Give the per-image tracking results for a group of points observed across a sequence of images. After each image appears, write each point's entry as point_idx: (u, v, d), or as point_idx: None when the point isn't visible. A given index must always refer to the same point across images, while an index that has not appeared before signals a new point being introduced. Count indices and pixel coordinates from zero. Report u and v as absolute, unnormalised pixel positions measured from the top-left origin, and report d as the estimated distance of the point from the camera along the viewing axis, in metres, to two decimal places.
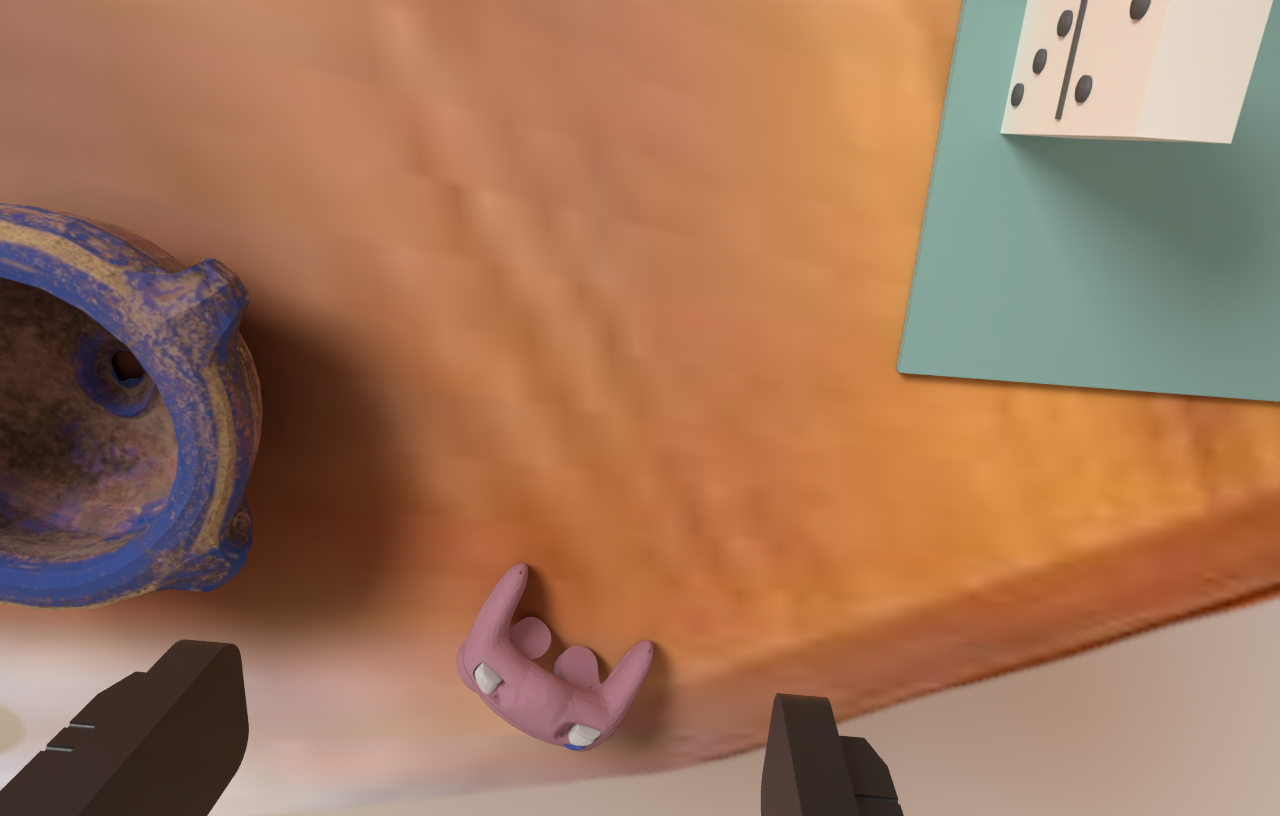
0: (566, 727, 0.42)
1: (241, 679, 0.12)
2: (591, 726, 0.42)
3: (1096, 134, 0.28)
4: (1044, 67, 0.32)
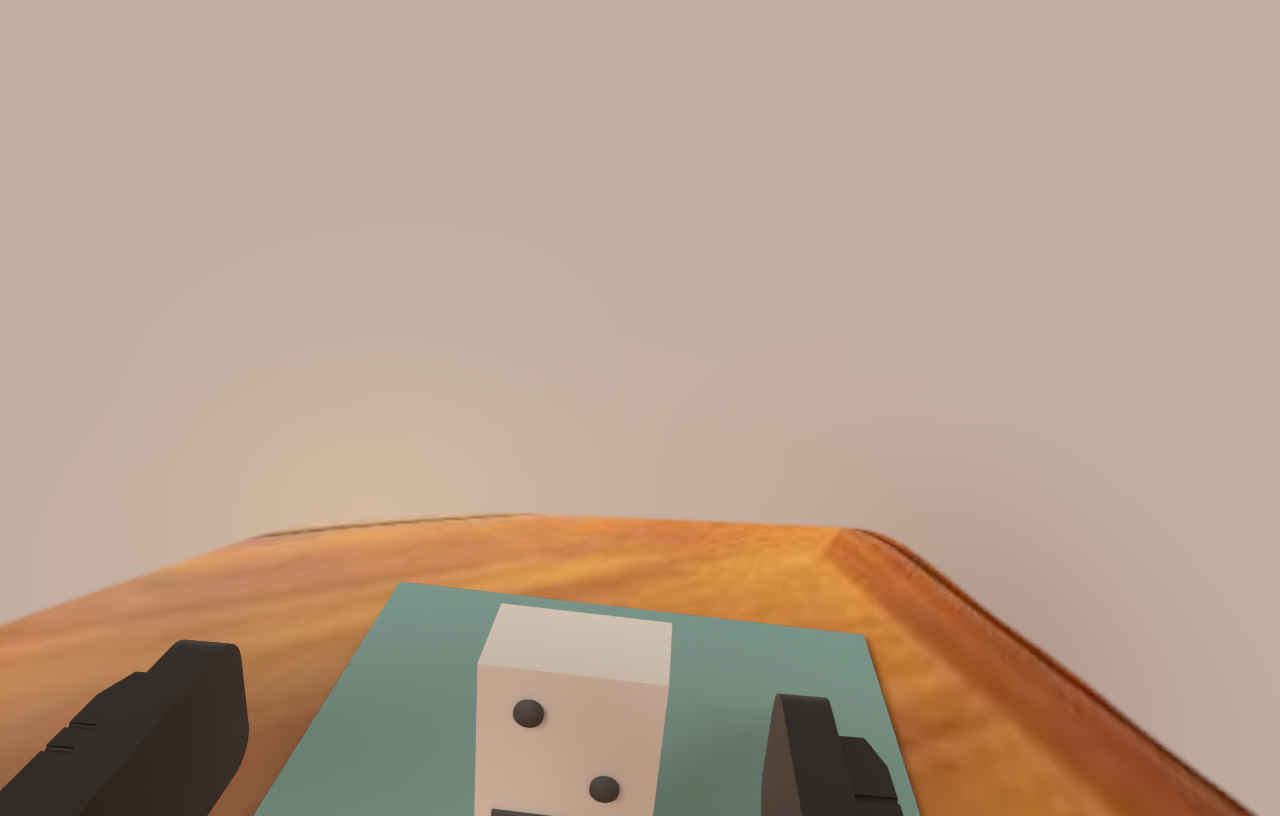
0: None
1: (241, 679, 0.12)
2: None
3: (659, 753, 0.24)
4: None
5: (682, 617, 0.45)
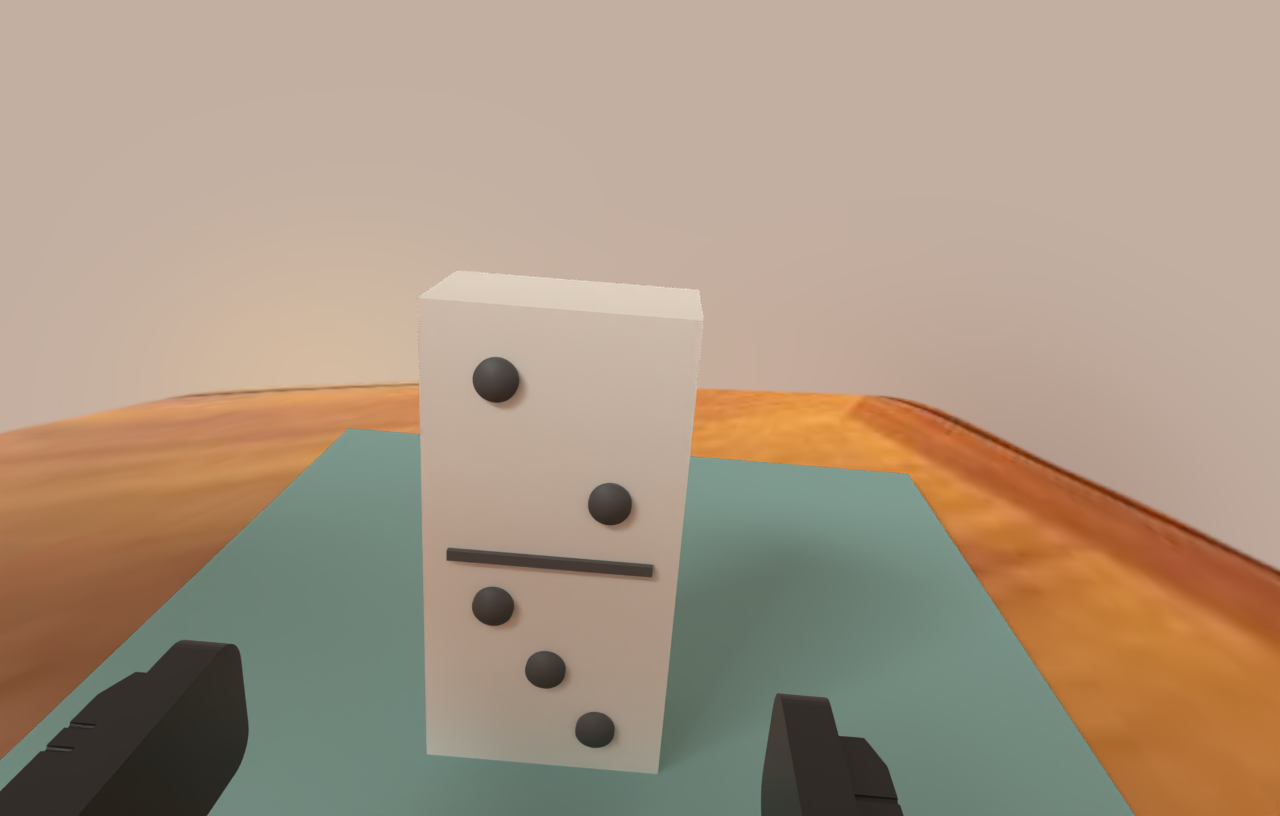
0: None
1: (241, 679, 0.12)
2: None
3: (689, 438, 0.16)
4: (556, 657, 0.18)
5: (691, 459, 0.37)
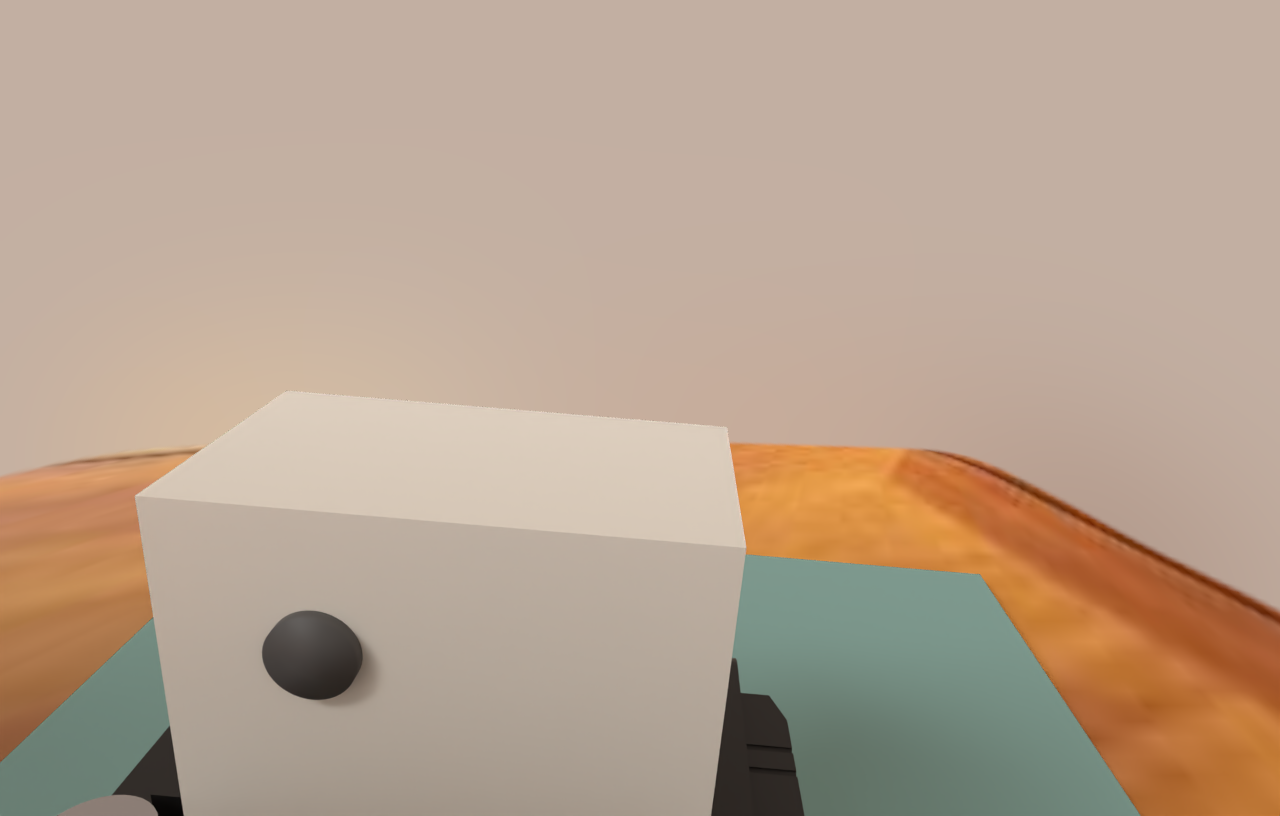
0: None
1: None
2: None
3: (713, 764, 0.08)
4: None
5: None
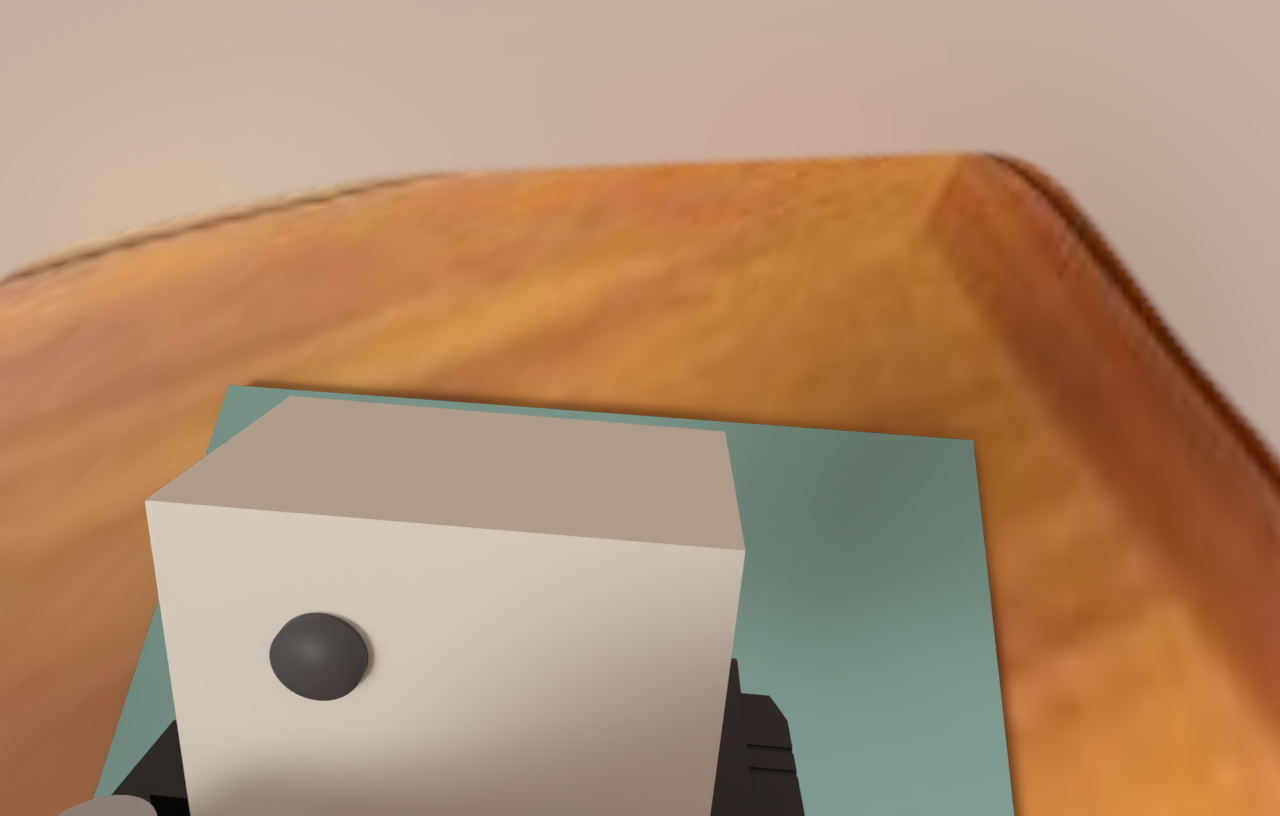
0: None
1: None
2: None
3: (713, 763, 0.08)
4: None
5: (682, 427, 0.28)
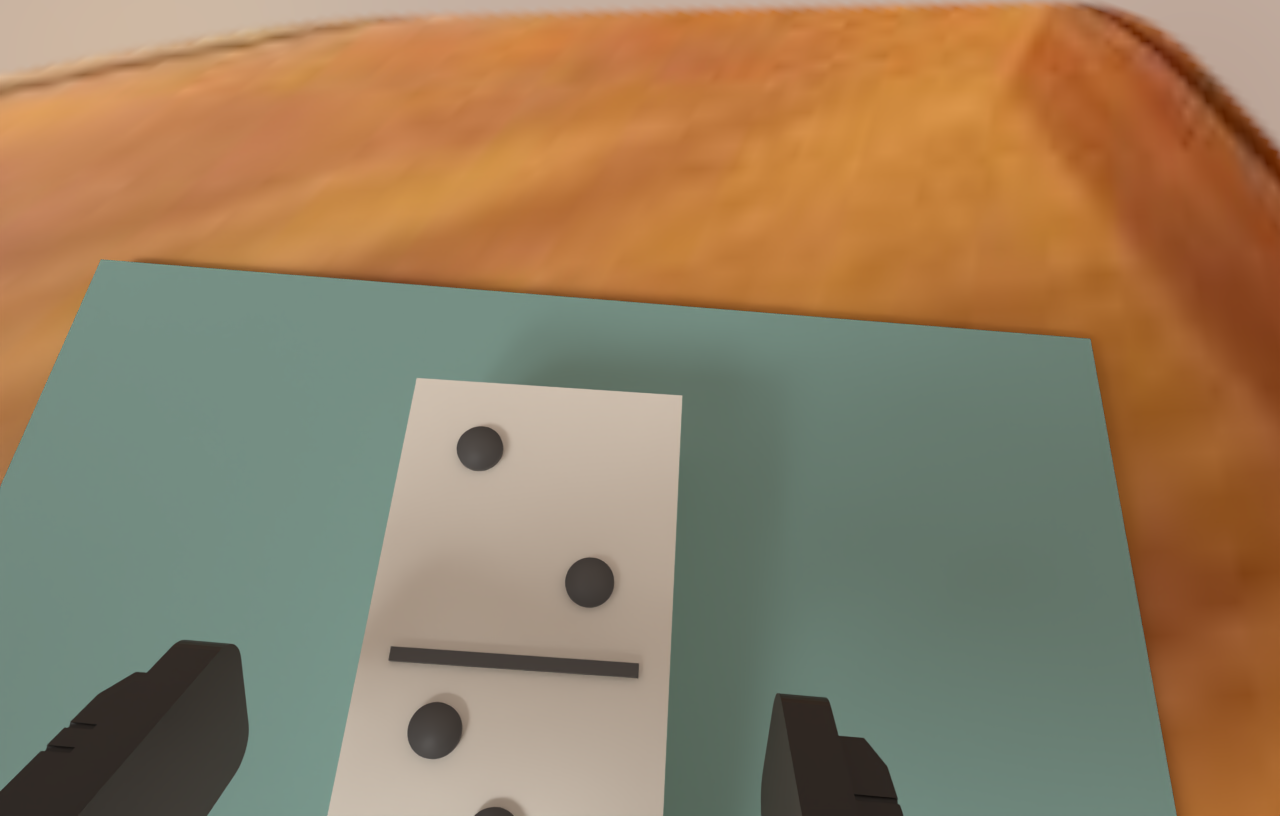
0: None
1: (241, 679, 0.12)
2: None
3: (675, 507, 0.16)
4: None
5: (703, 319, 0.21)
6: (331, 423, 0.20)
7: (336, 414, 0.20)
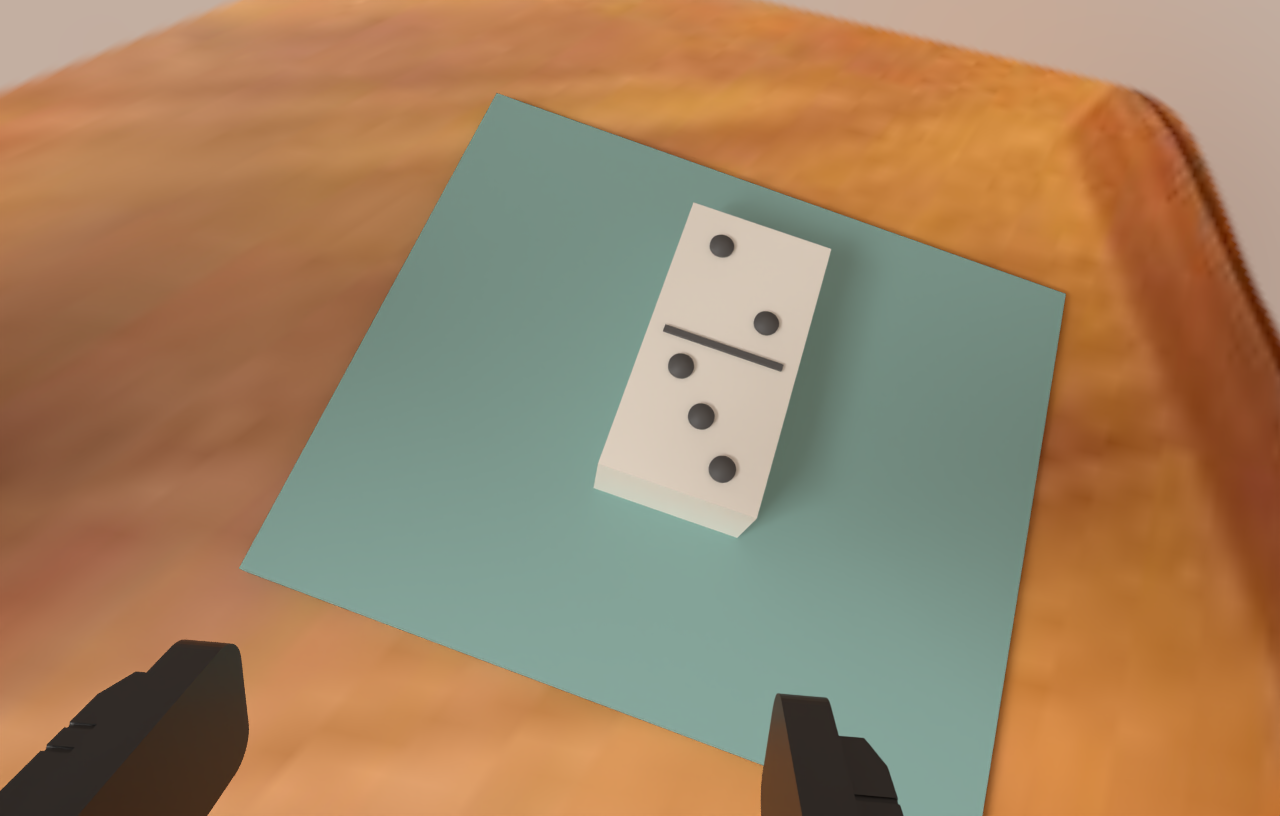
0: None
1: (241, 679, 0.12)
2: None
3: (815, 301, 0.30)
4: (708, 413, 0.28)
5: (841, 221, 0.35)
6: (619, 221, 0.34)
7: (622, 217, 0.34)
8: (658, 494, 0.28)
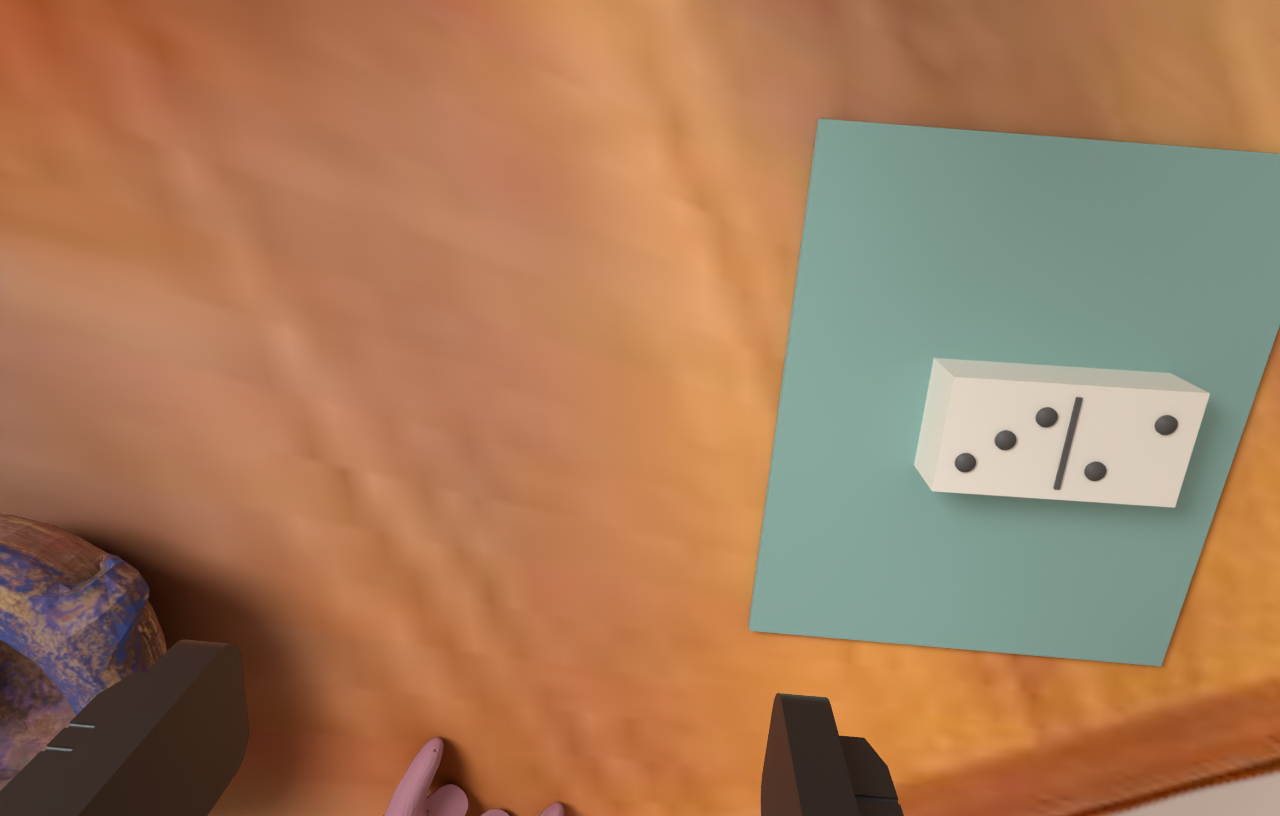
0: None
1: (241, 679, 0.12)
2: None
3: (1121, 503, 0.37)
4: (1009, 444, 0.36)
5: (1213, 496, 0.40)
6: (1189, 315, 0.37)
7: (1194, 316, 0.37)
8: (937, 416, 0.37)
